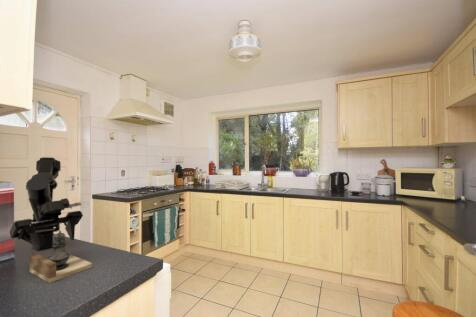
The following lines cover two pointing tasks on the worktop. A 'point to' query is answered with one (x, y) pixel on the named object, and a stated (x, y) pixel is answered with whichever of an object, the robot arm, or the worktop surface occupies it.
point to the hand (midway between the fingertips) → (57, 243)
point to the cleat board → (68, 270)
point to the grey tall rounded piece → (59, 252)
